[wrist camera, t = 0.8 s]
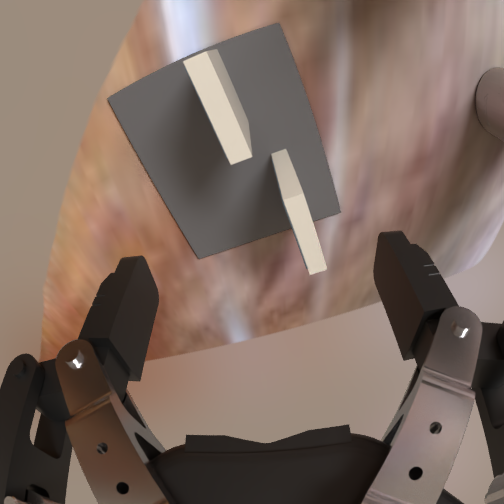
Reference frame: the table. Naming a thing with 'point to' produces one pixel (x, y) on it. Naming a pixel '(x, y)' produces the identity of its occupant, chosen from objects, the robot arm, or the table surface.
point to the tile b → (298, 212)
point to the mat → (211, 153)
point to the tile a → (220, 104)
